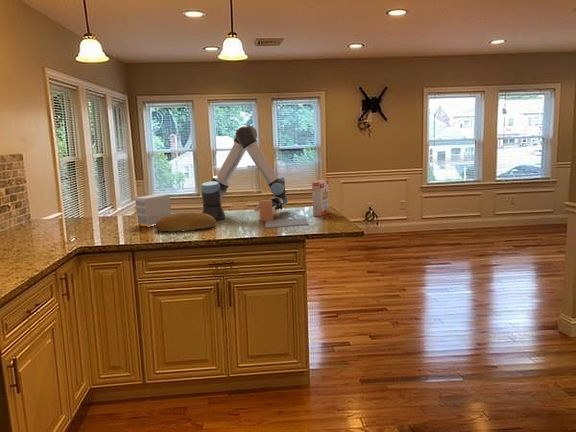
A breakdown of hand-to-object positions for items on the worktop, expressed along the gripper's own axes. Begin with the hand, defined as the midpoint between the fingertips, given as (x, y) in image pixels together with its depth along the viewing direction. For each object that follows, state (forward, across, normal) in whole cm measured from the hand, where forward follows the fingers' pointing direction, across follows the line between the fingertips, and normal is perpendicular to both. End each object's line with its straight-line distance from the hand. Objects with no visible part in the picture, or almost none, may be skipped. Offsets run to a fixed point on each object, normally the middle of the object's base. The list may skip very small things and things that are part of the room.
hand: (263, 209), depth 279 cm
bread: (+20, +41, -8) cm, 46 cm away
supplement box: (+6, +71, -8) cm, 72 cm away
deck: (-4, 0, -7) cm, 8 cm away
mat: (+6, -16, -7) cm, 18 cm away
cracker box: (-21, -30, -7) cm, 37 cm away
